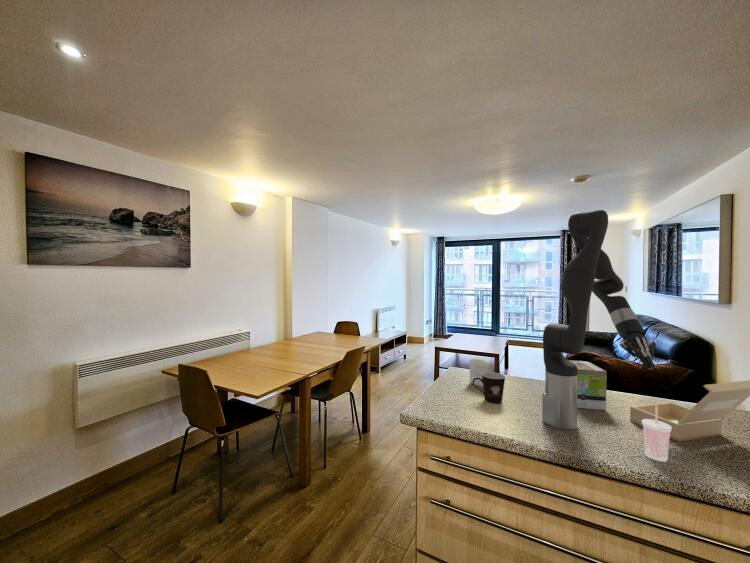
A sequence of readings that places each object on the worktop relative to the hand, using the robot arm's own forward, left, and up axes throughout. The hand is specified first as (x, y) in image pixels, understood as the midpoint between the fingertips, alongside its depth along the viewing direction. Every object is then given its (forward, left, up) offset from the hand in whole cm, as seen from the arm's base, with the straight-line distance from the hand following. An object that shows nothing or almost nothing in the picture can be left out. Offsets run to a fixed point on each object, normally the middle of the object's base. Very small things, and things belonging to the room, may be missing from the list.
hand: (650, 368), depth 107 cm
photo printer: (-36, +45, -18) cm, 61 cm away
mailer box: (+3, -5, -18) cm, 19 cm away
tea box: (-7, +19, -18) cm, 28 cm away
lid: (+3, -15, -5) cm, 16 cm away
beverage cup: (-21, -17, -18) cm, 33 cm away
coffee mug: (-42, +29, -18) cm, 55 cm away
